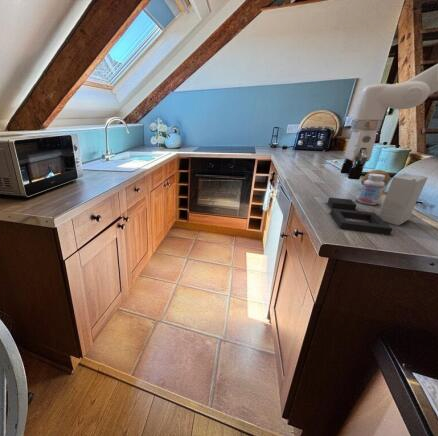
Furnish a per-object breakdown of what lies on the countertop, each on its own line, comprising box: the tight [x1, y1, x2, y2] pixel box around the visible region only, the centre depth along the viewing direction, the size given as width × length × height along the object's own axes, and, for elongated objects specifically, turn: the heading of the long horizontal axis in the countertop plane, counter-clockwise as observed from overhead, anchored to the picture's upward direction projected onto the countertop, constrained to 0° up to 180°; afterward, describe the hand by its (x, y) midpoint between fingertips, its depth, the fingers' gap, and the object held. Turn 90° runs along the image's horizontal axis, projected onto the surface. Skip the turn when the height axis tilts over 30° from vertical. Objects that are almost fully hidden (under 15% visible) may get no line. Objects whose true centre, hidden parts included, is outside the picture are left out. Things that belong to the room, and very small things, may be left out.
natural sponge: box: [360, 169, 391, 188], centre depth 109 cm, size 9×9×10 cm
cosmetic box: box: [377, 173, 429, 226], centre depth 78 cm, size 8×6×15 cm
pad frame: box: [329, 208, 393, 235], centre depth 79 cm, size 12×14×2 cm
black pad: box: [327, 197, 357, 211], centre depth 92 cm, size 7×7×2 cm
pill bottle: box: [357, 174, 385, 206], centre depth 95 cm, size 6×6×11 cm
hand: (349, 176), depth 88 cm, fingers open, 9 cm apart
